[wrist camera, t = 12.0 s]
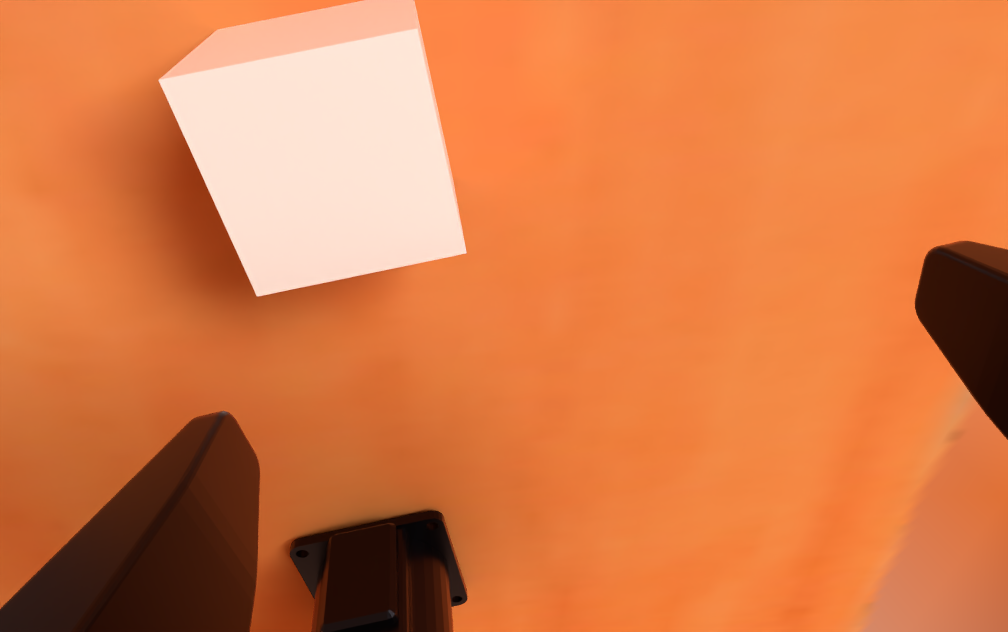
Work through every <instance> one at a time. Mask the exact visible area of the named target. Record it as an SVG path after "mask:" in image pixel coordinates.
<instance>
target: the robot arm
mask: <svg viewBox="0 0 1008 632" xmlns="http://www.w3.org/2000/svg"><path fill="white" fill-rule="evenodd" d="M915 309H916V313H917V316H918V318H919V320H920V322H921V323H922V325H923V326H924V327H925V329H926V330H927V332H928V333H929V335H930V336H931V337H932V339H933V340H934V342H935V343H936V345H937V346H938V347H939V349H940V350H941V352H942V353H943V355H944V356H945V357H946V359H947V360H948V362H949V363H950V365H951V366H952V367H953V369H954V370H955V372H956V373H957V375H958V376H959V377H960V379H961V380H962V382H963V383H964V385H965V386H966V387H967V389H968V390H969V392H970V393H971V395H972V396H973V397H974V399H975V400H976V402H977V403H978V404H979V406H980V407H981V408H982V409H983V411H984V412H985V414H986V415H987V416H988V417H989V418H990V420H991V421H992V422H993V423H994V424H995V426H996V427H997V428H998V429H999V430H1000V432H1001V433H1002V434H1003V435H1004V436H1005V437H1006V439H1007V440H1008V250H1007V249H1003V248H998V247H994V246H989V245H985V244H980V243H976V242H971V241H959V242H954V243H950V244H946V245H941V246H937V247H934V248H933V249H931V250H930V251H929V252H928V253H927V255H926V256H925V259H924V263H923V267H922V272H921V276H920V280H919V285H918V289H917V293H916V298H915ZM259 485H260V468H259V463H258V459H257V456H256V454H255V452H254V450H253V448H252V447H251V445H250V443H249V442H248V440H247V438H246V436H245V435H244V433H243V431H242V430H241V428H240V426H239V424H238V423H237V421H236V419H235V418H234V417H233V416H232V415H231V414H230V413H228V412H225V411H221V412H216V413H212V414H208V415H203V416H199V417H196V418H194V419H192V420H191V421H190V422H189V423H188V424H187V425H186V426H185V427H184V428H183V429H182V430H181V431H180V432H179V433H178V434H177V435H176V436H175V437H174V438H173V439H172V440H171V441H170V442H169V443H168V444H167V445H166V446H165V447H164V448H163V449H162V450H161V451H160V452H159V453H158V454H157V455H156V456H155V457H154V458H153V459H152V460H150V461H149V462H148V463H147V464H146V465H145V466H144V467H143V468H142V469H141V470H140V471H139V472H138V473H137V474H136V475H135V476H134V477H133V478H132V479H131V480H130V481H129V482H128V483H127V484H126V485H125V486H124V487H123V488H122V489H121V490H120V491H119V492H118V493H117V494H116V495H115V496H114V497H113V498H112V499H111V500H110V501H109V502H108V503H107V504H106V505H105V506H104V507H103V508H102V509H101V510H100V511H99V512H98V513H97V514H96V515H95V516H94V517H93V518H92V519H91V520H90V521H89V522H88V523H87V524H86V525H85V526H84V527H83V528H82V529H81V530H80V531H79V532H78V533H77V534H76V535H75V536H74V537H73V538H72V539H71V540H69V541H68V542H67V543H66V544H65V545H64V546H63V547H62V548H61V549H60V550H59V551H58V552H57V553H56V554H55V555H54V556H53V557H52V558H51V559H50V560H49V561H48V562H47V563H46V564H45V565H44V566H43V567H42V568H41V569H40V570H39V571H38V572H37V573H36V574H35V575H34V576H33V577H32V578H31V579H30V580H29V581H28V582H27V583H26V584H25V585H24V586H23V587H22V588H21V589H20V590H19V591H18V592H17V593H16V594H15V595H14V596H13V597H12V598H11V599H10V600H9V601H8V602H7V603H6V604H5V605H4V606H3V607H2V608H1V609H0V632H250V626H251V619H252V612H253V605H254V597H255V589H256V578H257V556H258V521H259ZM290 557H291V558H292V560H293V562H294V564H295V565H296V567H297V569H298V571H299V572H300V574H301V576H302V578H303V580H304V581H305V583H306V585H307V587H308V588H309V590H310V592H311V594H312V596H313V597H314V599H315V603H314V612H313V621H312V631H311V632H453V620H452V608H451V607H453V606H457V605H461V604H463V603H465V602H466V601H467V589H466V586H465V583H464V580H463V576H462V573H461V570H460V567H459V564H458V561H457V557H456V554H455V551H454V548H453V545H452V542H451V539H450V535H449V532H448V529H447V526H446V523H445V520H444V516H443V515H442V513H440V512H438V511H427V512H422V513H418V514H413V515H408V516H403V517H399V518H394V519H389V520H384V521H380V522H375V523H370V524H366V525H361V526H356V527H351V528H347V529H342V530H337V531H332V532H328V533H323V534H318V535H314V536H309V537H304V538H299V539H297V540H295V541H293V542H292V544H291V549H290Z"/></svg>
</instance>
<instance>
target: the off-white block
mask: <svg viewBox="0 0 1008 632" xmlns="http://www.w3.org/2000/svg"><path fill="white" fill-rule="evenodd" d="M159 82H160V84H161V87H162V89H163V91H164V93H165V95H166V98H167V100H168V102H169V104H170V106H171V109H172V111H173V113H174V115H175V117H176V120H177V122H178V124H179V126H180V128H181V131H182V133H183V135H184V137H185V139H186V142H187V144H188V146H189V148H190V150H191V153H192V155H193V157H194V159H195V161H196V164H197V166H198V168H199V170H200V172H201V175H202V177H203V179H204V181H205V183H206V186H207V188H208V190H209V192H210V194H211V197H212V199H213V201H214V203H215V205H216V208H217V210H218V212H219V214H220V216H221V218H222V221H223V223H224V225H225V227H226V229H227V232H228V234H229V236H230V238H231V240H232V243H233V245H234V247H235V249H236V251H237V254H238V256H239V258H240V260H241V262H242V265H243V267H244V269H245V271H246V273H247V276H248V278H249V280H250V282H251V284H252V287H253V289H254V291H255V293H256V295H257V297H258V296H263V295H268V294H273V293H277V292H282V291H287V290H292V289H297V288H301V287H306V286H311V285H316V284H321V283H325V282H330V281H335V280H340V279H345V278H350V277H354V276H359V275H364V274H369V273H374V272H378V271H383V270H388V269H393V268H398V267H403V266H407V265H412V264H417V263H422V262H427V261H431V260H436V259H441V258H446V257H451V256H455V255H460V254H465V253H466V247H465V242H464V237H463V231H462V226H461V221H460V215H459V210H458V204H457V199H456V194H455V188H454V183H453V178H452V173H451V168H450V163H449V159H448V154H447V150H446V145H445V140H444V136H443V131H442V126H441V122H440V117H439V113H438V108H437V103H436V99H435V94H434V90H433V85H432V80H431V76H430V71H429V67H428V62H427V57H426V53H425V48H424V44H423V39H422V34H421V30H420V25H419V21H418V16H417V11H416V7H415V2H414V0H364V1H359V2H354V3H349V4H344V5H339V6H334V7H329V8H324V9H319V10H314V11H309V12H304V13H298V14H293V15H288V16H283V17H278V18H273V19H268V20H263V21H258V22H253V23H248V24H243V25H238V26H233V27H228V28H223V29H218V30H216V31H215V32H214V33H213V34H211V35H210V36H209V37H208V38H207V39H206V40H204V41H203V42H202V43H201V44H200V45H199V46H197V47H196V48H195V49H194V50H193V51H192V52H190V53H189V54H188V55H187V56H186V57H185V58H183V59H182V60H181V61H180V62H179V63H178V64H176V65H175V66H174V67H173V68H172V69H171V70H169V71H168V72H167V73H166V74H165V75H164V76H162V77H161V78H160V79H159Z"/></svg>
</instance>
